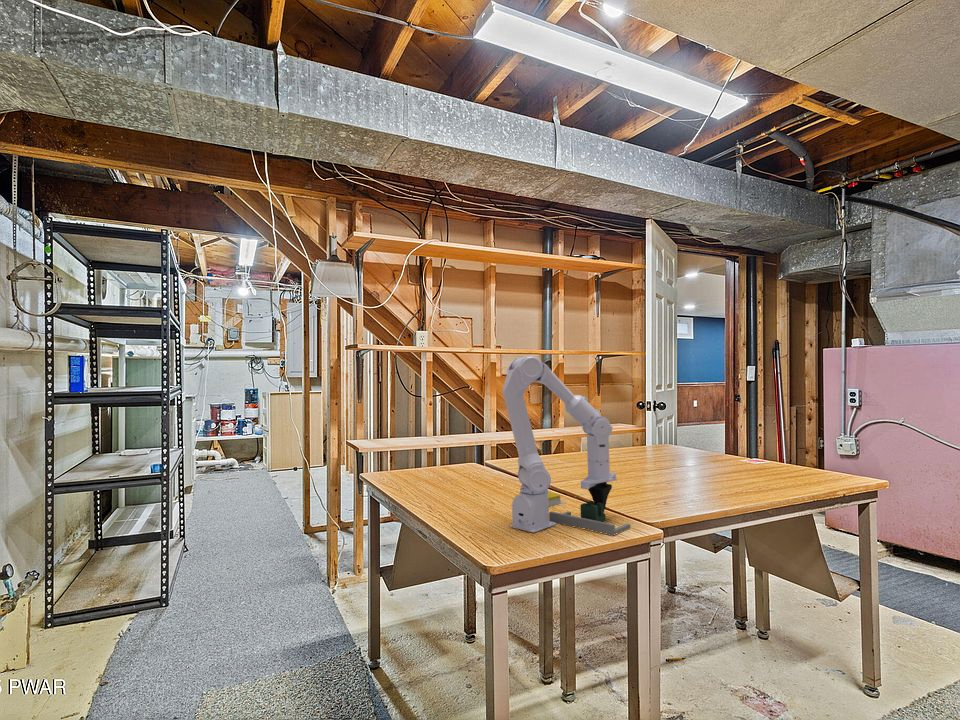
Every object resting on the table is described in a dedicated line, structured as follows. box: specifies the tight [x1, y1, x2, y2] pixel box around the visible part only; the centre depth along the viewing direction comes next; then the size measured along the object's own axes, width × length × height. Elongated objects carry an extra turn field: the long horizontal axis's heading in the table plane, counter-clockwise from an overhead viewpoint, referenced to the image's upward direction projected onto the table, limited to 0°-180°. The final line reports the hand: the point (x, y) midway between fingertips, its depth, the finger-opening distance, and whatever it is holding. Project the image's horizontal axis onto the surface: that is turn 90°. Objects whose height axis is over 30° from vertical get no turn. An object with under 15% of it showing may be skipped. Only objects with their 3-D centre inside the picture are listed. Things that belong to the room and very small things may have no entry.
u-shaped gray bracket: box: [549, 511, 631, 536], centre depth 133 cm, size 8×19×2 cm, turn 45°
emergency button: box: [510, 491, 567, 508], centre depth 155 cm, size 9×4×15 cm
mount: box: [580, 500, 607, 522], centre depth 134 cm, size 11×4×5 cm, turn 137°
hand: (600, 511), depth 136 cm, fingers closed
